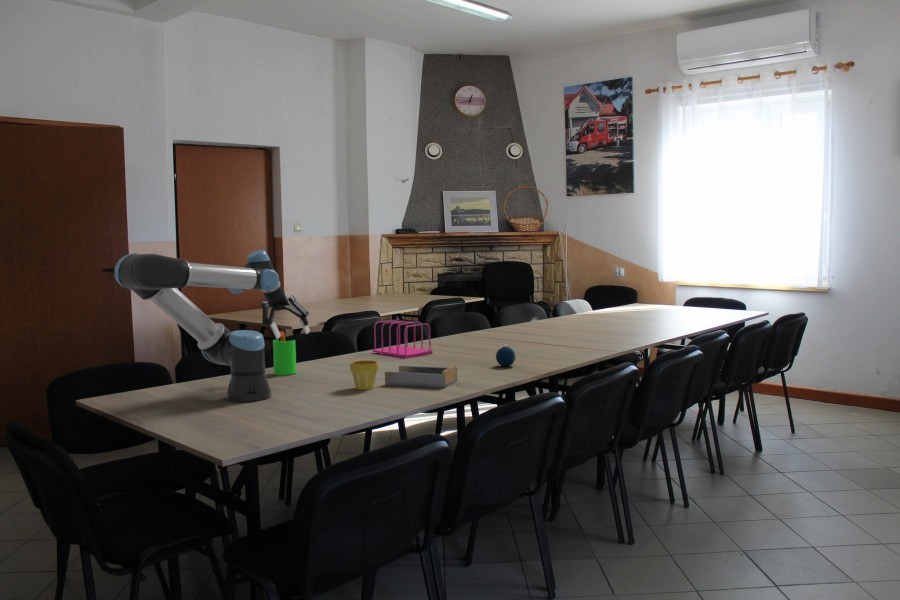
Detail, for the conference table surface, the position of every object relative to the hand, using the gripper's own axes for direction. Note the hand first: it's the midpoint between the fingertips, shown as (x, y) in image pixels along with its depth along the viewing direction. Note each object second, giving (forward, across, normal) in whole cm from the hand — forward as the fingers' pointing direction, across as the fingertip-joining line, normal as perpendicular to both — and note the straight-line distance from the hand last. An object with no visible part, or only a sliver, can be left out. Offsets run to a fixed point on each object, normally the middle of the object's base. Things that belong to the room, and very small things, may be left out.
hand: (293, 335), depth 281 cm
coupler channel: (+26, -49, +6) cm, 55 cm away
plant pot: (+18, -32, +18) cm, 40 cm away
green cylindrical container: (+19, +14, -2) cm, 23 cm away
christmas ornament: (+47, -71, -30) cm, 90 cm away
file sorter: (+48, -14, -55) cm, 74 cm away
